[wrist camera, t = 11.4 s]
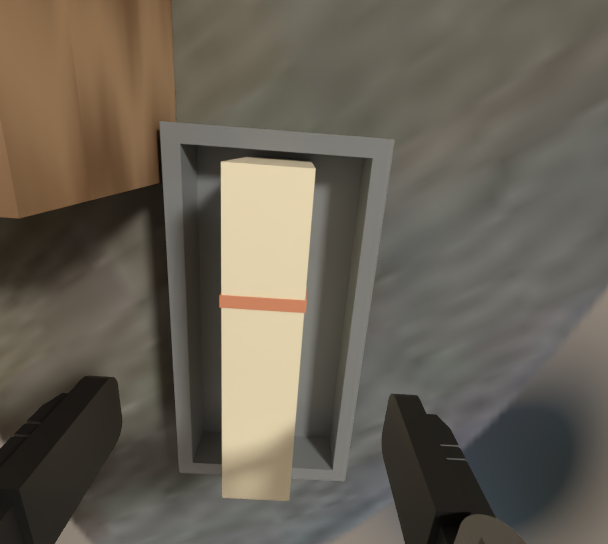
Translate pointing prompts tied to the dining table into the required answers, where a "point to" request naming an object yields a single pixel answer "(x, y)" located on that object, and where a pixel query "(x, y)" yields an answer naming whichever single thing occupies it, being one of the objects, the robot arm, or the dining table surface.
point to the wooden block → (81, 100)
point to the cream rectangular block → (262, 319)
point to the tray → (320, 284)
